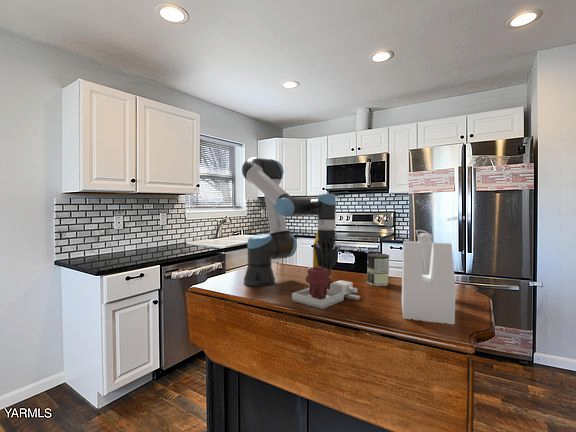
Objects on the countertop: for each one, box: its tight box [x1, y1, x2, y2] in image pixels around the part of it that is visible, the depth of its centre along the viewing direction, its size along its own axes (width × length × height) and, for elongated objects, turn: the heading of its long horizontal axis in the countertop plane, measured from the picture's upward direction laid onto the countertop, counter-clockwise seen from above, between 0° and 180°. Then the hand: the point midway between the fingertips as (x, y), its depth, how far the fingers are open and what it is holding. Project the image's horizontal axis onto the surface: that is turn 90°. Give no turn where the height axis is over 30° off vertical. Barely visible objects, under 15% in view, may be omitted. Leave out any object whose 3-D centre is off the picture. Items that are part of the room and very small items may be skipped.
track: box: [344, 293, 361, 301], centre depth 127 cm, size 11×3×1 cm, turn 48°
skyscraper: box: [415, 229, 433, 275], centre depth 132 cm, size 8×8×28 cm
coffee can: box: [366, 252, 390, 287], centre depth 149 cm, size 10×10×14 cm
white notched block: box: [401, 240, 457, 325], centre depth 108 cm, size 19×15×25 cm
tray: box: [291, 287, 345, 310], centre depth 121 cm, size 15×15×3 cm
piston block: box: [329, 279, 358, 295], centre depth 127 cm, size 10×8×4 cm
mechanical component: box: [305, 266, 332, 299], centre depth 121 cm, size 12×10×10 cm
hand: (326, 282), depth 134 cm, fingers closed
